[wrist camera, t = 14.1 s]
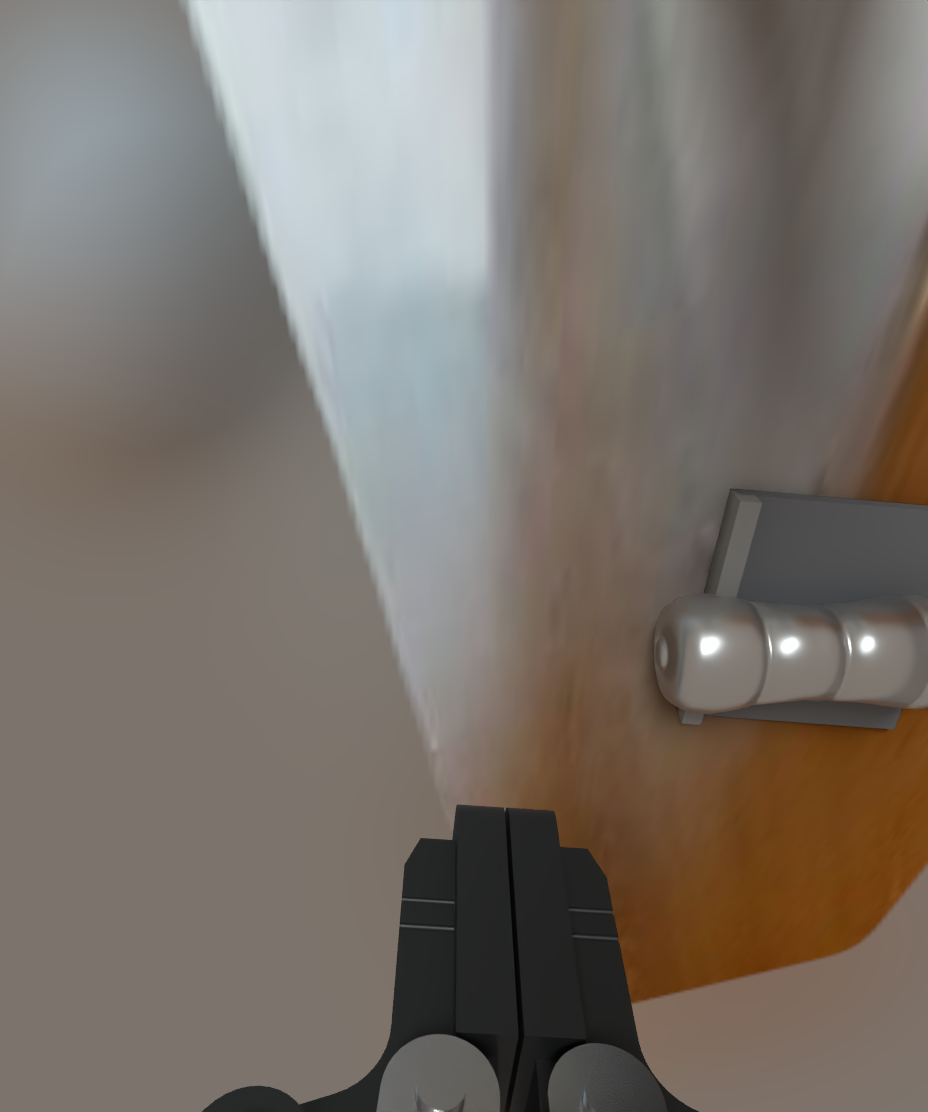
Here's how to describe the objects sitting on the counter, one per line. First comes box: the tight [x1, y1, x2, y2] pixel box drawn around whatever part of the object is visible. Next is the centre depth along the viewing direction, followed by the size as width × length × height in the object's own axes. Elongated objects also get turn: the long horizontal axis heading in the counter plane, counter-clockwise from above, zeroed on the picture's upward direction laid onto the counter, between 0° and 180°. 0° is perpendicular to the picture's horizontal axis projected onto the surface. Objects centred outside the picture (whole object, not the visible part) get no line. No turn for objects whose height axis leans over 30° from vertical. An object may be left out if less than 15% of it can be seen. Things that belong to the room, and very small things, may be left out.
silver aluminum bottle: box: [654, 593, 928, 714], centre depth 45 cm, size 6×7×20 cm
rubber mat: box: [675, 489, 928, 729], centre depth 48 cm, size 15×14×2 cm
